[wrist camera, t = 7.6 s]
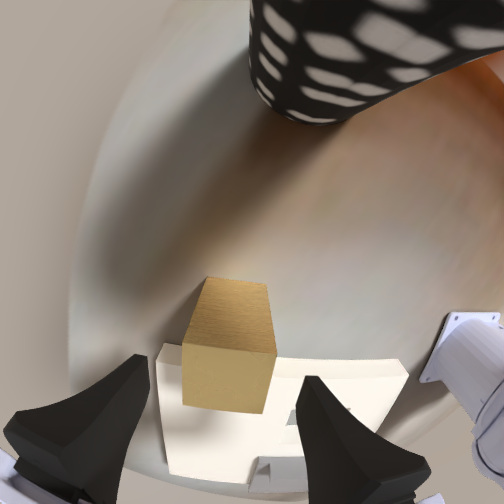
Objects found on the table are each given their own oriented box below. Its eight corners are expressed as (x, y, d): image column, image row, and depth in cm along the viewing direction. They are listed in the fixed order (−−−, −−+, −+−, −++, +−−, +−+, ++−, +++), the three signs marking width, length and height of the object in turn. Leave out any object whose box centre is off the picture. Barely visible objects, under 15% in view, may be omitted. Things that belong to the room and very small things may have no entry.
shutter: (337, 454, 21) (343, 474, 18) (314, 485, 23) (318, 503, 20) (259, 456, 21) (260, 479, 18) (248, 487, 23) (248, 505, 20)
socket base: (397, 358, 21) (409, 375, 19) (336, 464, 26) (340, 479, 23) (164, 342, 20) (155, 361, 18) (173, 458, 25) (170, 473, 22)
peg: (266, 284, 19) (277, 354, 11) (257, 333, 20) (262, 414, 12) (207, 276, 19) (181, 342, 11) (203, 326, 20) (182, 404, 12)
